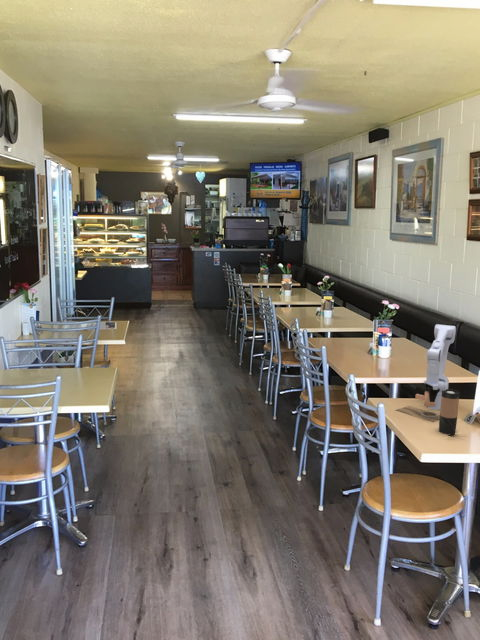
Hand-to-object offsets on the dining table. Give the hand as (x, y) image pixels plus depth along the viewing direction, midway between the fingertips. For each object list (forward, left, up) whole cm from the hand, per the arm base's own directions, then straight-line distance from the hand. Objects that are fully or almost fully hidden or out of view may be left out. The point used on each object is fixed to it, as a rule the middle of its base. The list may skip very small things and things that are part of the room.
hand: (430, 400), depth 299 cm
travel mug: (+12, +17, -10) cm, 23 cm away
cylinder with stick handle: (0, -3, -3) cm, 4 cm away
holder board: (0, -5, -9) cm, 11 cm away
